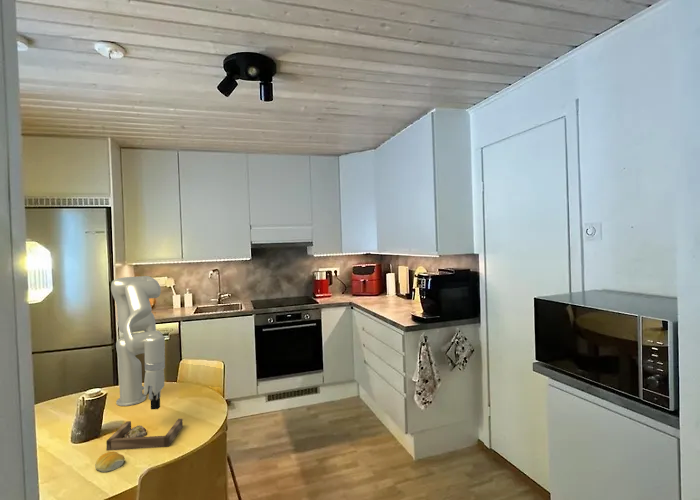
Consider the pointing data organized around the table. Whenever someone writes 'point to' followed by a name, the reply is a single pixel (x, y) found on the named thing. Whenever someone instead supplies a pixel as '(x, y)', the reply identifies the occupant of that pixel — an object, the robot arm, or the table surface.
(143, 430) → the mineral rock
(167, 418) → the table surface
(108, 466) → the bread roll
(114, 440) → the dark wooden frame
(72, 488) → the table surface
